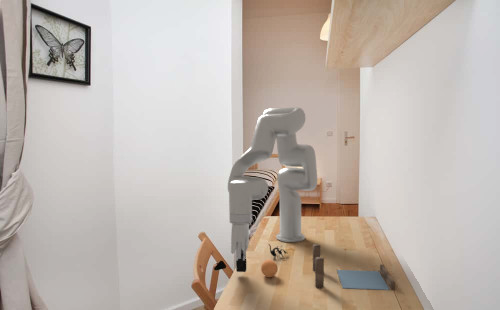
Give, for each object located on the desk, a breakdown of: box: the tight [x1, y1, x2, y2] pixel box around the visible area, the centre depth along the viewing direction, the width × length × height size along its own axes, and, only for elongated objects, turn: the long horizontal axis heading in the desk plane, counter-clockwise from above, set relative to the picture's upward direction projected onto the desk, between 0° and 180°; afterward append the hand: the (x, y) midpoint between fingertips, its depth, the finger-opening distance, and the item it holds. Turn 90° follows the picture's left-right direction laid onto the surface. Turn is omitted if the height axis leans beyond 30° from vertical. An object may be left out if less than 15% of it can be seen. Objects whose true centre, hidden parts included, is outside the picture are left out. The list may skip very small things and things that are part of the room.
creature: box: [268, 243, 287, 260], centre depth 139 cm, size 8×5×8 cm
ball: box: [260, 259, 279, 278], centre depth 121 cm, size 6×6×6 cm
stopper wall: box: [379, 264, 396, 291], centre depth 117 cm, size 14×1×2 cm, turn 174°
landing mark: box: [336, 269, 391, 291], centre depth 118 cm, size 14×14×1 cm
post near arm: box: [312, 243, 321, 273], centre depth 126 cm, size 3×3×9 cm
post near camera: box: [314, 256, 325, 289], centre depth 113 cm, size 3×3×9 cm
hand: (241, 270), depth 122 cm, fingers closed
